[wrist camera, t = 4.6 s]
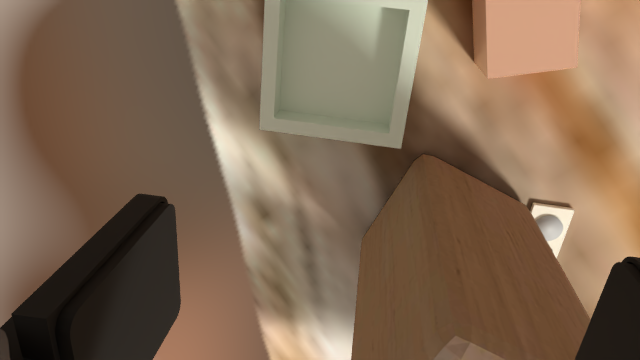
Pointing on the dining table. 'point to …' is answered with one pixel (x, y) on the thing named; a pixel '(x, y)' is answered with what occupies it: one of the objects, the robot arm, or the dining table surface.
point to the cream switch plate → (552, 223)
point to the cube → (525, 36)
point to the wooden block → (461, 277)
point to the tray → (340, 68)
